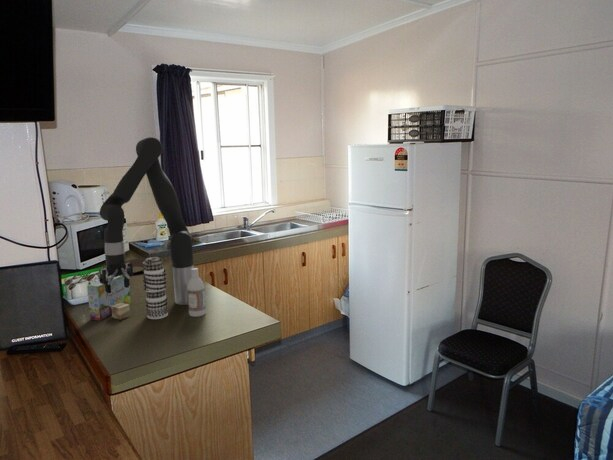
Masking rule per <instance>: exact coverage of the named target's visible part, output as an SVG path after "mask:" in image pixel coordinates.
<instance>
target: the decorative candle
mask: <svg viewBox="0 0 613 460" xmlns="http://www.w3.org/2000/svg"><path fill="white" fill-rule="evenodd" d="M143 264H144V270H143V273H144V274H143V276H142V279H143V280H142V281H143V287H144V288H143V290H144V292H145V294H146V297H145V299H146V301H145V303H146V305H145V306H146V315H147V316H146V318H147V319H150V320H160V319H163V318H166V317H168V315H169V312H168V311H169V310H168V307H169V306H168V302H167V301H168V298H167V294H166V288H167V286H166V284H167V281H166V280H167V278H166V277H165V276H166V275H167V273H166V271H167V270H166V269H165V267H164V260H163V259H162V258H161V257H159V256H152V257H151V256H150V257H147V259H146V260H145V262H143Z"/></svg>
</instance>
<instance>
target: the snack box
mask: <svg viewBox="0 0 613 460" xmlns="http://www.w3.org/2000/svg"><path fill="white" fill-rule="evenodd" d="M110 277H111V276H110ZM124 279H125V278H124V277H123V276H122V275H121V276H117V277H114V279H113V280H112V281H111V283H110V284H111V293H107V292H106V291H105V284H101V283H100V279H99V280H98V281H95V282H93V283H90V284H88V285H87V286H86V287H87V296H88V297H87V298H88V310H89V311H88V312H89V319H90V320H92V321H99V322H101V321H102V320H104V319H106V318H107V317H109V316H112V308H111V306H114V305H117V304H119V303H125V304H129V305H131V304H130V303H131V292H130V291H131V289H130V286H129V287H128V288H126V287H124ZM90 320H89V321H90Z"/></svg>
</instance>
